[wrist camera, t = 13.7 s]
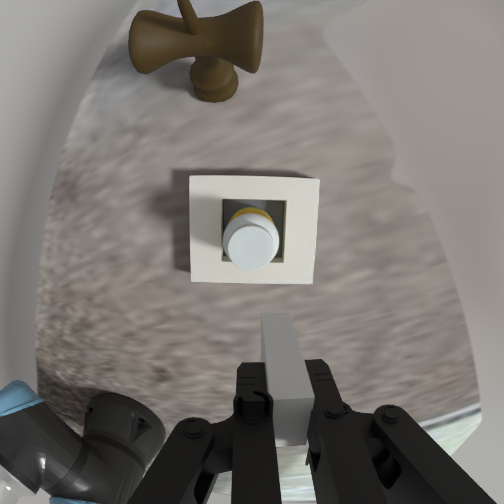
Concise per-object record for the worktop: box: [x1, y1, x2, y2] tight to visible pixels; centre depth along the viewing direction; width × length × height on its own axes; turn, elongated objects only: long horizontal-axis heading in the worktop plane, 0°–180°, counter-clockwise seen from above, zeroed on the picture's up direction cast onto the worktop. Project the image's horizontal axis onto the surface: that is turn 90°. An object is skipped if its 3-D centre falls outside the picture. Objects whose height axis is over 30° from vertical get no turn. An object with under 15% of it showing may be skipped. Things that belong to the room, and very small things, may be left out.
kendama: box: [128, 0, 264, 103], centre depth 21 cm, size 6×10×20 cm, turn 87°
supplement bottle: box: [223, 207, 279, 271], centre depth 30 cm, size 5×5×10 cm
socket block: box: [189, 175, 320, 284], centre depth 34 cm, size 14×12×2 cm
